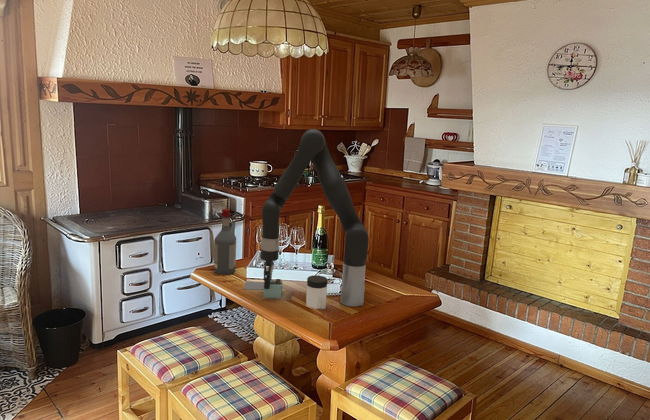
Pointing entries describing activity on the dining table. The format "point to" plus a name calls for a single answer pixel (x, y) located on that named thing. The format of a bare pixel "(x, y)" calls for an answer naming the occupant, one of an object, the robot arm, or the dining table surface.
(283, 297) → the post stand
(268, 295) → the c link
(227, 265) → the liquor
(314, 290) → the jar
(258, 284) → the trivet
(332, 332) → the dining table surface
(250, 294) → the dining table surface
